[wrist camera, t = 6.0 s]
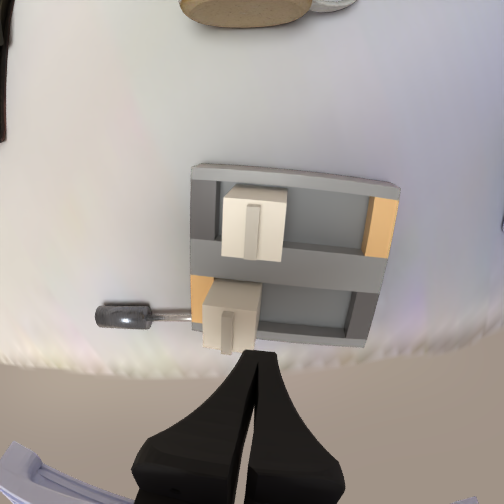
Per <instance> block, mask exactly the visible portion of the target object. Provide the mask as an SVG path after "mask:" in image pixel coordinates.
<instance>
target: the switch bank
mask: <svg viewBox="0 0 504 504" xmlns="http://www.w3.org/2000/svg"><path fill="white" fill-rule="evenodd" d="M236 184H243V185H255V186H267V187H278V188H287V206H286V216H285V227H284V237H283V247H282V256H281V262H275V261H265V260H246V259H244V258H236V257H227V256H221V249H222V221H223V197H224V196H225V195H226V194H227V193H228V192H229V191H230V190H231V189H232V188H233V187H234V186H235V185H236ZM400 191H401V188H399V187H397V186H395V185H393V184H392V183H390V182H384V181H377V180H370V179H364V178H357V177H349V176H342V175H334V174H325V173H317V172H308V171H298V170H288V169H278V168H266V167H254V166H240V165H224V164H204V163H201V164H198V165H196V166H193V167H191V200H190V274H191V314H192V330H194V331H200V332H203V327H202V304H203V302H204V300H205V298H206V296H207V294H208V292H209V290H210V288H211V286H212V284H213V282H214V280H215V278H224V279H233V280H242V281H251V282H261V283H262V294H261V306H260V317H259V323H258V329H257V334H256V339H262V340H271V341H281V342H291V343H303V344H315V345H328V346H343V347H361V348H364V347H365V343H366V340H367V337H368V333H369V330H370V327H371V323H372V320H373V316H374V312H375V309H376V305H377V301H378V297H379V293H380V289H381V285H382V281H383V277H384V273H385V269H386V264H387V260H388V255H389V251H390V246H391V241H392V236H393V231H394V226H395V220H396V215H397V209H398V203H399V197H400Z"/></svg>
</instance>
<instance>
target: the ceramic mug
mask: <svg viewBox="0 0 504 504" xmlns="http://www.w3.org/2000/svg"><path fill="white" fill-rule="evenodd" d="M355 1H356V0H342V1H338V2H333V1H324V0H179V4H180V7H181V9H182V11H183V13H184V14H185V15H186V16H188V17H189V18H191V19H192V20H194V21H196V22H198V23H202V24H206V25H212V26H218V27H241V28H248V27H264V26H274V25H279V24H284V23H288V22H291V21H294V20H296V19H298V18H300V17H302V16H303V15H304V14H305V13H307V12H308V10H311V11H315V12H333V11H337V10H340V9H343V8H345V7H348V6H350V5H351V4H353V3H354V2H355Z"/></svg>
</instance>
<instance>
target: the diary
mask: <svg viewBox="0 0 504 504" xmlns="http://www.w3.org/2000/svg"><path fill="white" fill-rule="evenodd" d="M14 1H15V0H0V143H1V142H3V141H4V137H5V132H6V77H7V56H8V42H9V31H10V20H11V15H12V11H13V6H14Z"/></svg>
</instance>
